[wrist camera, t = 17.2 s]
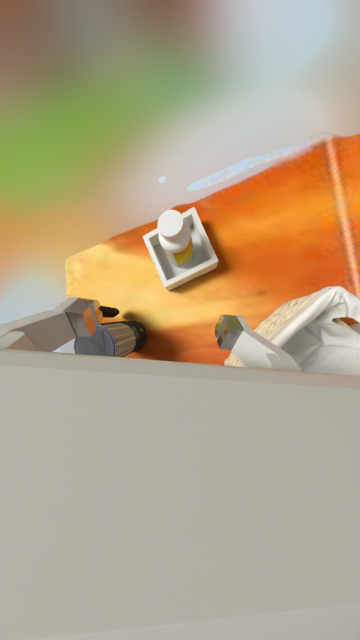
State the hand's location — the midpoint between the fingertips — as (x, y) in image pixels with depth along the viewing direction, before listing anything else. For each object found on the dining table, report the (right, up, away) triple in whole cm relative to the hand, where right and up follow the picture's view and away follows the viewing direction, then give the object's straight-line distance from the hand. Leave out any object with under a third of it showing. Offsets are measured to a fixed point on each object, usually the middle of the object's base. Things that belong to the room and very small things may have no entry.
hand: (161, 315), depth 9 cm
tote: (+2, +17, +28) cm, 33 cm away
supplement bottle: (+2, +17, +27) cm, 32 cm away
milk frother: (-17, -6, +32) cm, 37 cm away
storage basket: (+25, -8, +25) cm, 36 cm away
